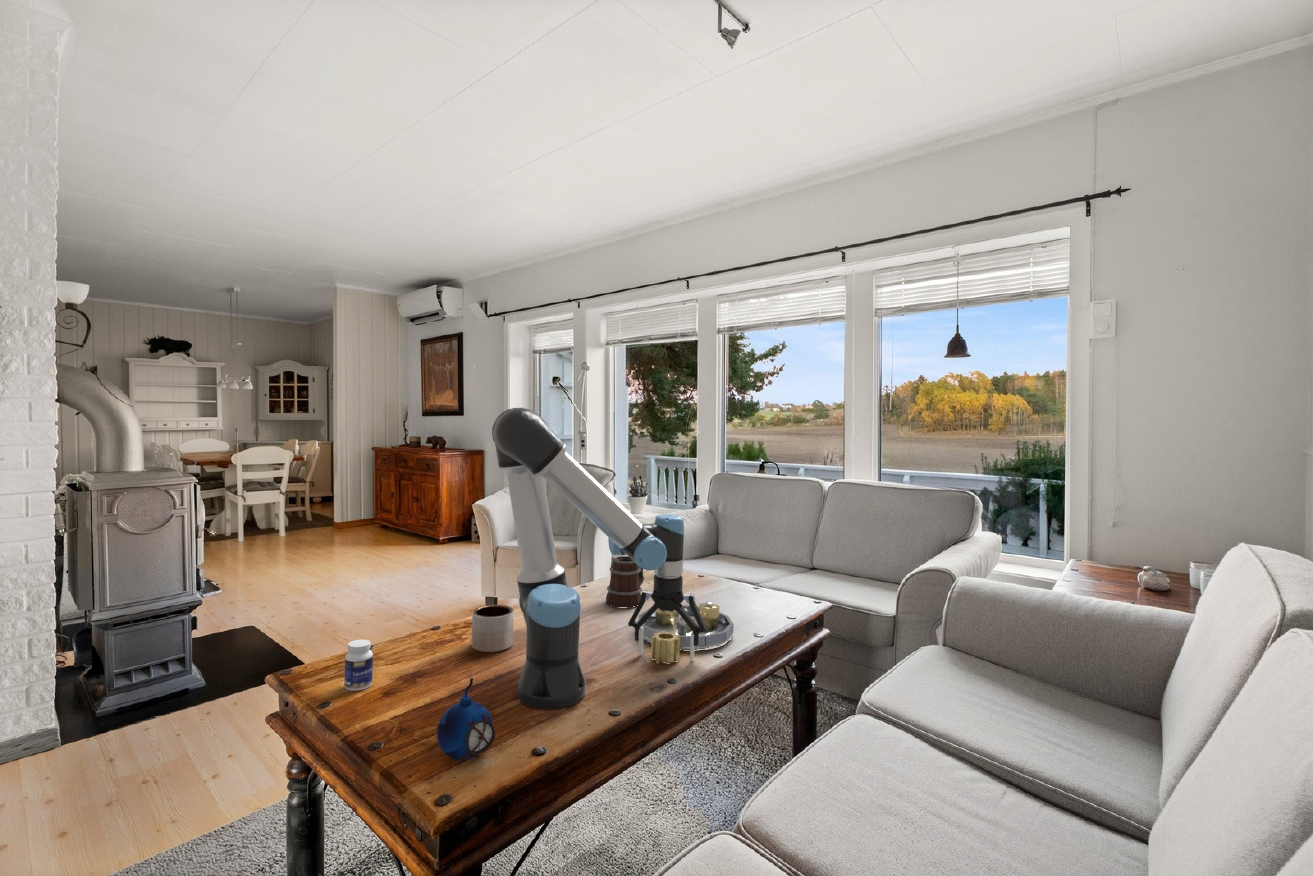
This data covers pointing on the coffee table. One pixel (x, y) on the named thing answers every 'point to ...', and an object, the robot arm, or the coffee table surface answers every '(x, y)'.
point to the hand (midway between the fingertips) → (666, 655)
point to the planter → (492, 628)
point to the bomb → (465, 729)
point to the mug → (624, 583)
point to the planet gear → (665, 647)
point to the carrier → (669, 621)
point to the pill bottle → (358, 665)
